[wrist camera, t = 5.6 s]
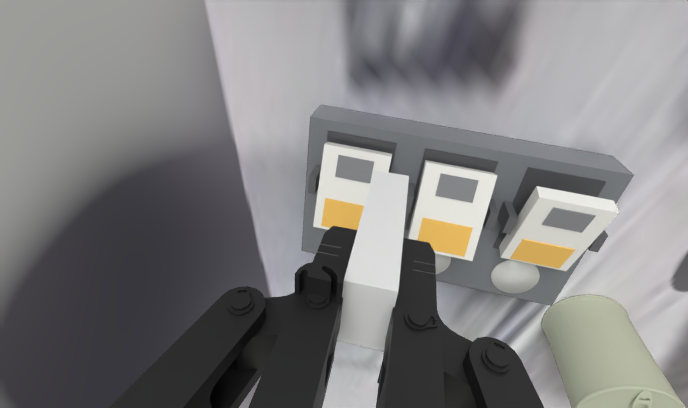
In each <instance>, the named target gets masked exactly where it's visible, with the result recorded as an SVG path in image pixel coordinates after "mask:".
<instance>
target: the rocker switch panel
mask: <svg viewBox="0 0 688 408" xmlns="http://www.w3.org/2000/svg"><path fill="white" fill-rule="evenodd" d="M327 142H332V143H337V144H342V145H348V146H353V147H359V148H364V149H369V150H375V151H380V152H385V153H391V154H392V158H391V163H390V168H389V173H395V174H401V175H407V176H409V182H408V193H407V204H406V214H405V225H404V236H403V238H407V237H408V232H409V228H410V224H411V219H412V215H413V211H414V206H415V202H416V198H417V194H418V189H419V185H420V181H421V176H422V172H423V168H424V163H425V160H428V161H433V162H439V163H444V164H449V165H455V166H460V167H465V168H471V169H476V170H481V171H487V172H492V173H494V174H496V175H497V179H496V182H495V186H494V189H493V193H492V196H491V199H490V203H489V206H488V210H487V213H486V216H485V220H484V223H483V227H482V230H481V233H480V237H479V240H478V244H477V247H476V250H475V254H474V257H473V261H469V260H465V259H460V258H455V257H451V256H446V255H441V254H436V253H435V262H436V264H435V266H436V274H435V275H436V280H437V281H442V282H447V283H451V284H456V285H460V286H465V287H469V288H474V289H478V290H483V291H487V292H492V293H496V294H501V295H505V296H510V297H514V298H519V299H523V300H528V301H532V302H537V303H541V304H546V305H550V306H552V304H553V303H554V301H555V299H556V298H557V296H558V295H559V293H560V292H561V290H562V288H563V287H564V285H565V284H566V282H567V280H568V279H569V277H570V276H571V274H572V273H573V271H574V269H575V268H576V266H577V265H578V263H579V261H580V260H581V258H582V257H583V255H584V254H585V252H586V250H587V249H589V250H590V251H595V252H598V251H599V249H600V248H601V246H602V244H603V243H604V241H605V240H606V238H607V237H608V235H607V233H606V232H605V231H604V230H603V232H602V233H601V234H600V235H599V236H598V237H597V238H596V239H595V240H594V241H593V242H592V244H591V245H590V246H589V247H588V248H587V249H586V250H585V251H584V252H583V253H582V255H581V256H580V257H579V258H578V259H577V260H576V261H575V262H574V263H573V264H572V265H571V267H570V268H569V269H568V270H567V271H562V270H557V269H553V268H548V267H543V266H538V265H534V264H529V263H524V262H519V261H515V260H510V259H505V258H501V257H500V249H499V246H500V244H501V242H502V241H503V239H504V238H505V236H506V234H511V232H512V229H513V227H514V225H515V223H516V221H517V219H518V215H519V213H520V212H521V210H522V209H523V207H524V205H525V204H526V202H527V200H528V199H529V197H530V196H531V194H532V192H533V191H534V189H535V188H536V186H539V187H545V188H550V189H555V190H561V191H566V192H571V193H576V194H582V195H587V196H592V197H598V198H603V199H608V200H614V202H615V204H616V203H617V201H618V200H619V198H620V196H621V195H622V193H623V192H624V190H625V189H626V187H627V185H628V184H629V182H630V181H631V179H632V177H633V176H634V174H632V173H631V172H630V171H629V170H628V169H627V168H626V167H625V166H623V165H622V164H621V163H620V162H619V161H618V160H617V159H615V158H614V157H613V156H610V155H604V154H599V153H593V152H587V151H582V150H576V149H570V148H564V147H559V146H553V145H547V144H542V143H536V142H530V141H525V140H519V139H513V138H508V137H502V136H496V135H490V134H485V133H479V132H473V131H468V130H462V129H456V128H451V127H445V126H439V125H434V124H428V123H422V122H417V121H411V120H405V119H399V118H394V117H388V116H382V115H377V114H371V113H365V112H360V111H354V110H348V109H343V108H337V107H331V106H326V105H320V106H319V108H318V109H317V110H316V111H315V112H314V113H313V114H312V115H311V116H310V129H309V144H308V159H307V175H306V190H305V206H304V221H303V236H302V251H306V252H311V253H315V254H316V253H317V250H318V248H319V245H320V243H321V240H322V238H323V235H324V233H325V232H326V231H327V229H322V228H317V227H313V223H314V216H315V208H316V201H317V194H318V187H319V179H320V172H321V165H322V158H323V150H324V144H325V143H327Z"/></svg>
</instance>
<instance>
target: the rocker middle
mask: <svg viewBox="0 0 688 408" xmlns="http://www.w3.org/2000/svg"><path fill="white" fill-rule="evenodd" d="M496 179H497V175H496V174H494V173H492V172H487V171H481V170H476V169H471V168H465V167H460V166H455V165H449V164H444V163H439V162H433V161H428V160H425V163H424V168H423V172H422V176H421V181H420V185H419V189H418V194H417V198H416V202H415V206H414V211H413V215H412V219H411V224H410V228H409V232H408V237H407V239H413V240H418V241H423V242H429V243H430V245H431V247H432V248H433V250H434V252H435V253H436V254H441V255H446V256H451V257H455V258H460V259H465V260H469V261H473V257H474V254H475V250H476V247H477V244H478V240H479V237H480V233H481V230H482V227H483V223H484V220H485V216H486V213H487V210H488V206H489V203H490V199H491V196H492V193H493V189H494V186H495V182H496Z"/></svg>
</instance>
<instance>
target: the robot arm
mask: <svg viewBox="0 0 688 408" xmlns="http://www.w3.org/2000/svg"><path fill="white" fill-rule="evenodd" d="M408 182H409V176H407V175H401V174H395V173H389V172H383V171H377V170H374V172H373V175H372V179H371V183H370V186H369V190H368V194H367V197H366V201H365V205H364V208H363V212H362V216H361V219H360V223H359V227H358V230H354V229H349V228H343V227H338V226H332V227H331V228H330V229H329V230H327V231H326V232H325V233H324V235H323V238H322V240H321V243H320V245H319V248H318V250H317V253H316V255H315V258H314V260H313V262H312V263H308V264H305V265H304V266H302V267H300V268H299V269H298V270H297V272H296V273H295V292H294V293H293V294H290V295H287V296H282V297H271V298H264V296H263V294H262V293H261V292H260V291H258V290H257V289H255V288H251V287H237V288H234V289H231V290H229V291H228V292H226V293H225V294H223V295H222V296H221V297H220V298H219V299H218V300H217V301H216V302H215V303H214V304H213V305H212V306H211V307H210V308H209V309H208V310H207V311H206V312H205V313H204V314H203V315H202V316H201V317H200V318H199V319H198V320H197V321H196V322H195V323H194V324H193V325H192V326H191V327H190V328H189V329H188V330H187V331H186V332H185V333H184V334H183V335H182V336H181V337H180V338H179V339H178V340H177V341H176V342H175V343H174V344H173V345H172V346H171V347H170V348H169V349H168V350H167V351H166V352H165V353H164V354H163V355H162V356H161V357H160V358H159V359H158V360H157V361H156V362H155V363H154V364H153V365H152V366H151V367H150V368H149V369H148V370H147V371H146V372H145V373H144V374H143V375H142V376H141V377H140V378H139V379H138V380H137V381H136V382H135V383H134V384H133V385H132V386H131V387H130V388H129V389H127V390H126V392H124V394H123V395H122V396H121V397H119V399H117V401H115V402H114V404H112V405H111V406H110V407H109V408H239V406H240V405H241V403H242V402H243V400H244V399H245V398H246V396H247V395H248V393H249V392H250V390H251V389H252V387H253V386H254V385H255V383H256V382H257V380H258V379H259V378H260V376H261V375H262V376H261V379H260V381H259V383H258V386H257V388H256V391H255V393H254V396H253V398H252V400H251V403H250V405H249V408H322V405H323V401H324V397H325V393H326V389H327V384H328V380H329V376H330V372H331V368H332V364H333V360H334V352H335V346H336V342H337V341H339V342H343V343H347V344H352V345H356V346H361V347H365V348H370V349H374V350H378V351H383V352H384V356H383V362H382V366H381V370H380V374H379V378H378V382H377V383H379V387H378V395H377V403H376V408H544V407H543V404H542V402H541V400H540V398H539V396H538V394H537V392H536V390H535V388H534V386H533V384H532V382H531V380H530V378H529V376H528V374H527V372H526V370H525V368H524V366H523V363H522V361H521V360H520V358H519V357H518V355H517V354H516V352H515V351H514V350H513V349H512V348H511V347H509V346H508V345H507V344H506V343H504V342H502V341H500V340H498V339H496V338H490V337H482V338H477V339H476V340H475V341H473V342H472V341H470V340H468V339H466V338H464V337H462V336H460V335H458V334H456V333H455V332H453V331H451V330H450V329H449V328H448V327H447V326H446V325H445V324H444V323H443V322H442V320H441V319H440V317H439V315H438V312H437V300H436V275H435V274H436V266H435V264H436V262H435V252H434V250H433V248H432V247H431V245H430V243H429V242H423V241H418V240H413V239H407V238H403V236H404V225H405V214H406V204H407V193H408Z"/></svg>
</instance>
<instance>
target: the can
mask: <svg viewBox="0 0 688 408" xmlns="http://www.w3.org/2000/svg"><path fill="white" fill-rule="evenodd" d="M542 329H543V331H544V333H545V335H546V336H547V339H548V341H549V344H550V347H551V350H552V352H553V355H554V358H555V361H556V364H557V367H558V369H559V372H560V375H561V378H562V381H563V384H564V387H565V390H566V393H567V396H568V399H569V402H570V404H571V408H686V407H685V406H684V404H683V403H682V402H681V401H680V399H679V398H678V396H677V395H676V393H675V392H674V390H673V389H672V387H671V386H670V384H669V383H668V381H667V379H666V378H665V376H664V375H663V373H662V371H661V370H660V368H659V367H658V365H657V363H656V362H655V360H654V359H653V357H652V355H651V354H650V352H649V351H648V349H647V347H646V346H645V344H644V342H643V341H642V339H641V338H640V336H639V334H638V333H637V331H636V329H635V328H634V326H633V324H632V323H631V321H630V319H629V317H628V314H627V312H626V310H625V309H624V307H623V306H621V305H620V304H619V303H618V302H616V301H614V300H612V299H610V298H607V297H603V296H598V295H579V296H573V297H570V298H566V299H564V300H561V301H559V302H557V303H556V304H554V305H553V306H551V307H550V308H549V309H548V310H547V311H546V313H545V314H544V316H543V319H542Z"/></svg>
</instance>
